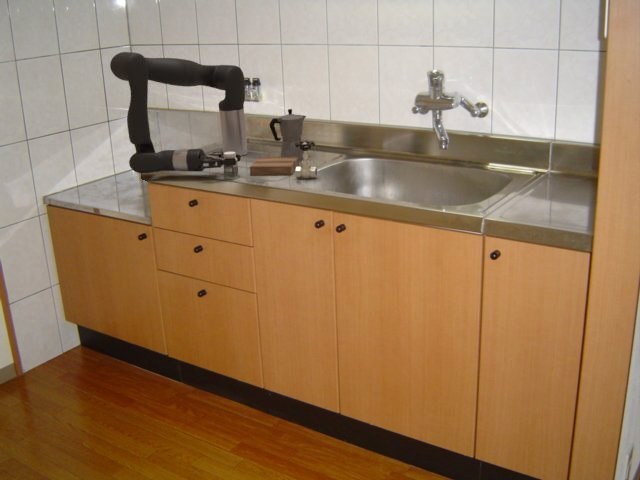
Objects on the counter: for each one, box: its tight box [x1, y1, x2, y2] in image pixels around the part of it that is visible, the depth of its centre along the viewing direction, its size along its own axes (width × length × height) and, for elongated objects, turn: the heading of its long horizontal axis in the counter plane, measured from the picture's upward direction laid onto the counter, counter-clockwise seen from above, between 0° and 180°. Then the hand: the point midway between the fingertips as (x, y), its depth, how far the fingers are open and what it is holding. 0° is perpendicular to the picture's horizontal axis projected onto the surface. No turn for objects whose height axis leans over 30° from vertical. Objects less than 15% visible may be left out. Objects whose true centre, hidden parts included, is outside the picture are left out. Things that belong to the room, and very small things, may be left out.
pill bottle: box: [223, 152, 240, 180], centre depth 245 cm, size 5×5×8 cm
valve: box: [294, 140, 318, 180], centre depth 238 cm, size 7×7×12 cm
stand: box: [249, 156, 300, 177], centre depth 252 cm, size 14×14×3 cm
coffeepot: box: [269, 108, 307, 161], centre depth 265 cm, size 15×9×18 cm, turn 125°
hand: (237, 159), depth 244 cm, fingers closed on pill bottle, 4 cm apart
